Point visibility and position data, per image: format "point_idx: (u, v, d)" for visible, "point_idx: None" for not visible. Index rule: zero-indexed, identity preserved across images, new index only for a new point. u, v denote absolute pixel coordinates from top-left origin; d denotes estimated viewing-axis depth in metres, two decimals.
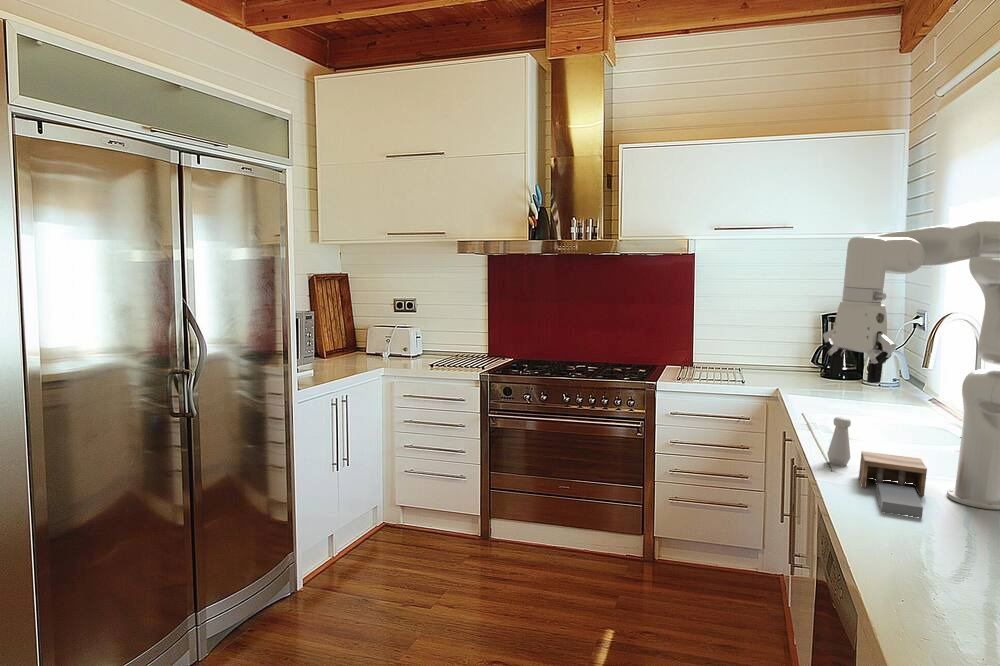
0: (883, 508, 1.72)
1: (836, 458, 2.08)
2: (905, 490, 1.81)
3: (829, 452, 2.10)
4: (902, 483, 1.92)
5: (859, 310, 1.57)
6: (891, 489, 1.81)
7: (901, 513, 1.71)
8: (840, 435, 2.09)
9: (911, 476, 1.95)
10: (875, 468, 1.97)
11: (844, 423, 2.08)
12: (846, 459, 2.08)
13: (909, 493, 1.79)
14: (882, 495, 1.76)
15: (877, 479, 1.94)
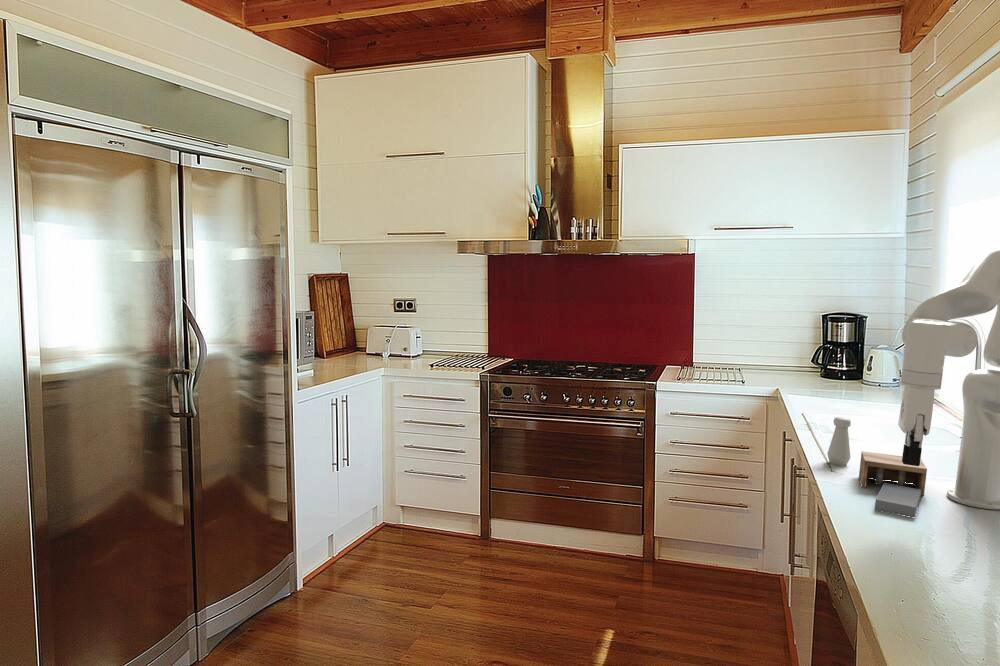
0: (876, 506, 1.73)
1: (836, 458, 2.08)
2: (909, 491, 1.80)
3: (829, 452, 2.10)
4: (902, 483, 1.92)
5: None
6: (894, 489, 1.81)
7: (894, 512, 1.71)
8: (840, 435, 2.09)
9: (911, 476, 1.95)
10: (875, 468, 1.97)
11: (844, 423, 2.08)
12: (846, 459, 2.08)
13: (911, 494, 1.78)
14: (879, 494, 1.77)
15: (877, 479, 1.94)
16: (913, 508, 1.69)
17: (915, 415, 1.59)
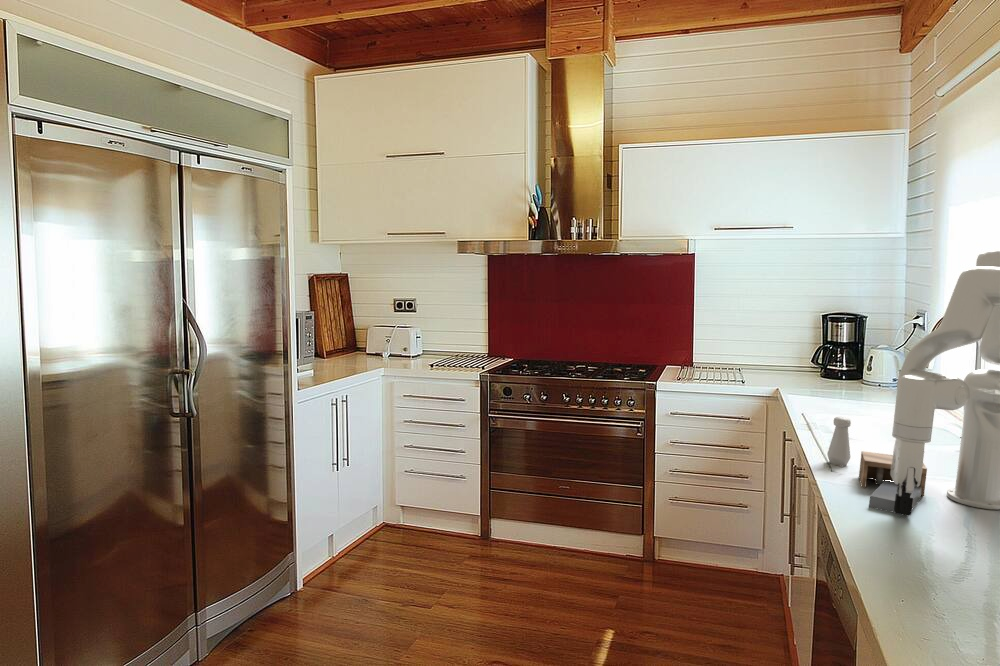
0: (870, 502, 1.75)
1: (836, 458, 2.08)
2: None
3: (829, 452, 2.10)
4: None
5: None
6: (893, 487, 1.83)
7: (888, 508, 1.73)
8: (840, 435, 2.09)
9: None
10: (875, 468, 1.97)
11: (844, 423, 2.08)
12: (846, 459, 2.08)
13: None
14: (876, 491, 1.79)
15: (877, 479, 1.94)
16: None
17: (906, 468, 1.64)
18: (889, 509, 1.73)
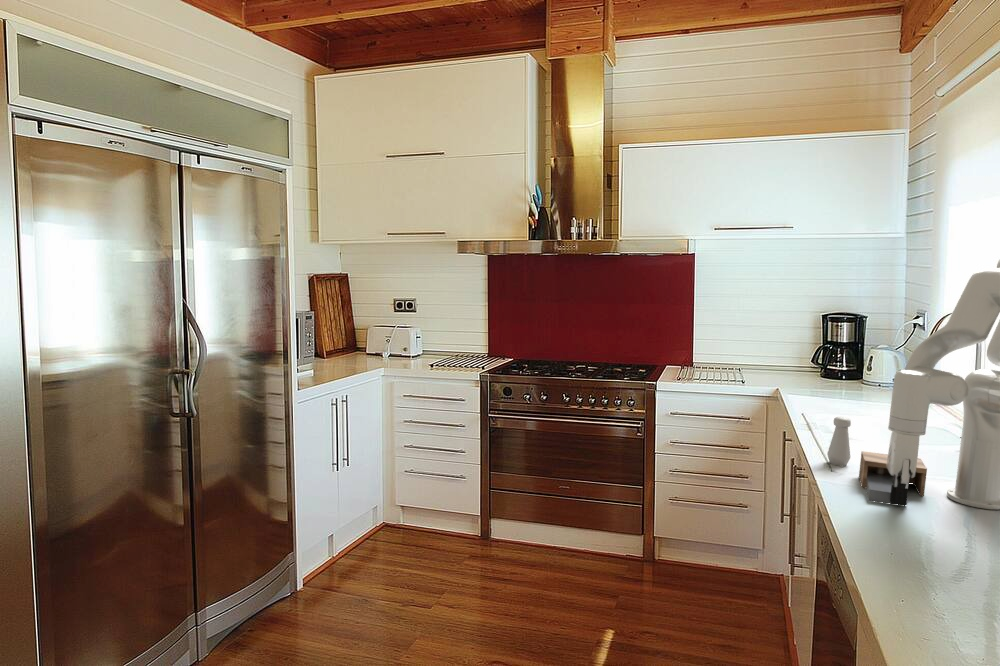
0: (870, 495, 1.80)
1: (836, 458, 2.08)
2: (892, 479, 1.89)
3: (829, 452, 2.10)
4: None
5: None
6: (878, 478, 1.89)
7: (887, 500, 1.79)
8: (840, 435, 2.09)
9: None
10: (875, 468, 1.97)
11: (844, 423, 2.08)
12: (846, 459, 2.08)
13: None
14: (869, 483, 1.84)
15: None
16: None
17: (902, 459, 1.70)
18: (888, 501, 1.79)
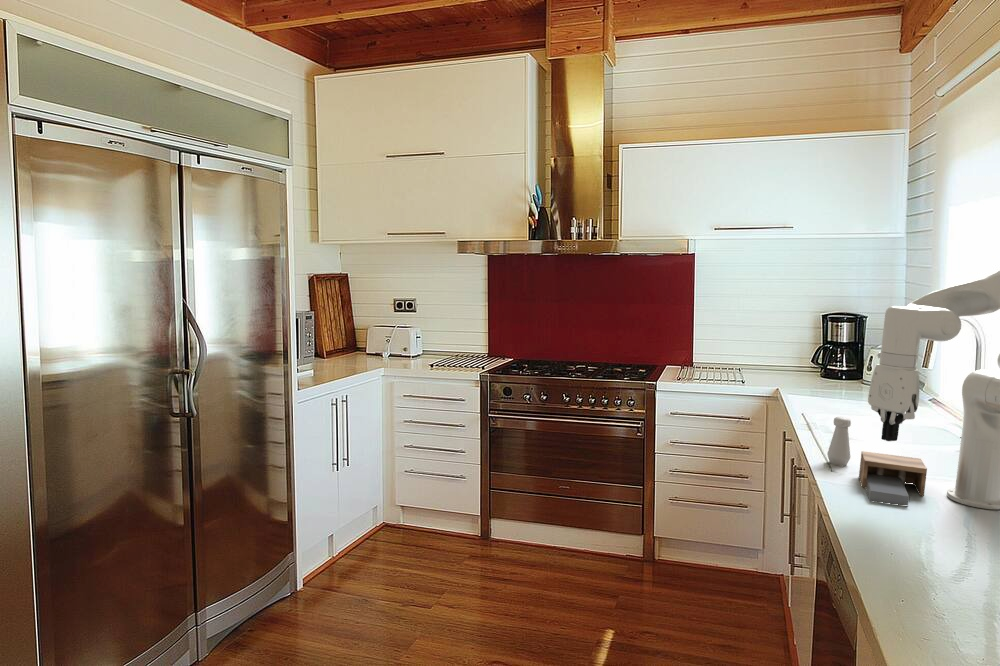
0: (871, 497, 1.80)
1: (836, 458, 2.08)
2: (892, 480, 1.89)
3: (829, 452, 2.10)
4: None
5: None
6: (878, 479, 1.89)
7: (888, 501, 1.79)
8: (840, 435, 2.09)
9: (911, 476, 1.95)
10: (875, 468, 1.97)
11: (844, 423, 2.08)
12: (846, 459, 2.08)
13: (895, 483, 1.87)
14: (870, 484, 1.84)
15: None
16: (906, 497, 1.77)
17: (911, 395, 1.70)
18: (889, 502, 1.78)
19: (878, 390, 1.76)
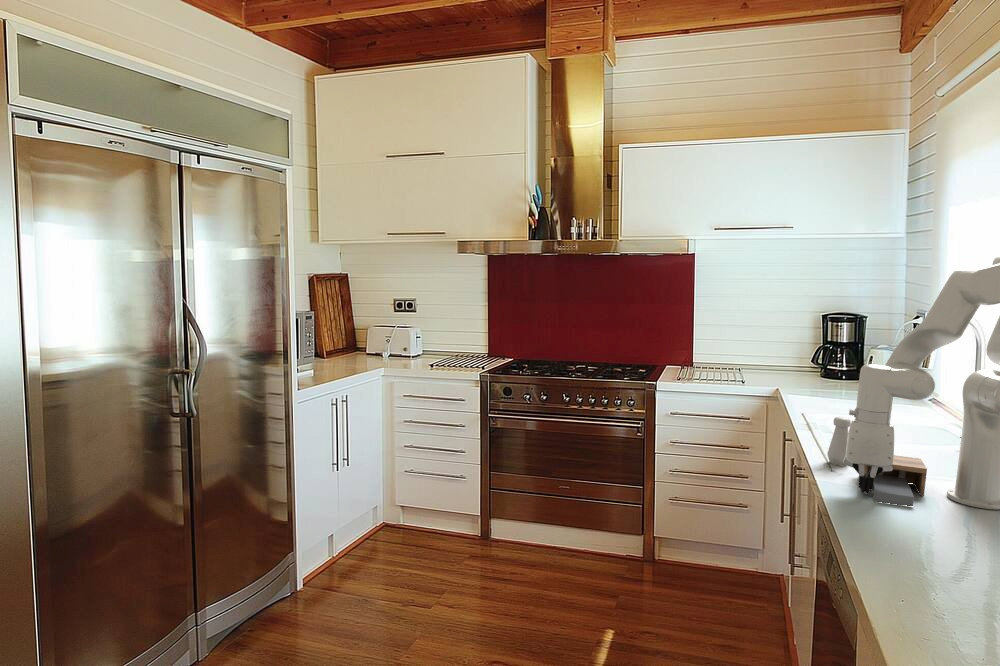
0: (876, 497, 1.79)
1: (836, 458, 2.08)
2: (897, 481, 1.89)
3: (829, 452, 2.10)
4: None
5: None
6: (884, 480, 1.89)
7: (893, 502, 1.78)
8: (840, 435, 2.09)
9: (911, 476, 1.95)
10: None
11: (844, 423, 2.08)
12: None
13: (901, 483, 1.86)
14: (875, 485, 1.84)
15: None
16: (911, 498, 1.77)
17: None
18: (894, 503, 1.78)
19: (861, 447, 1.81)
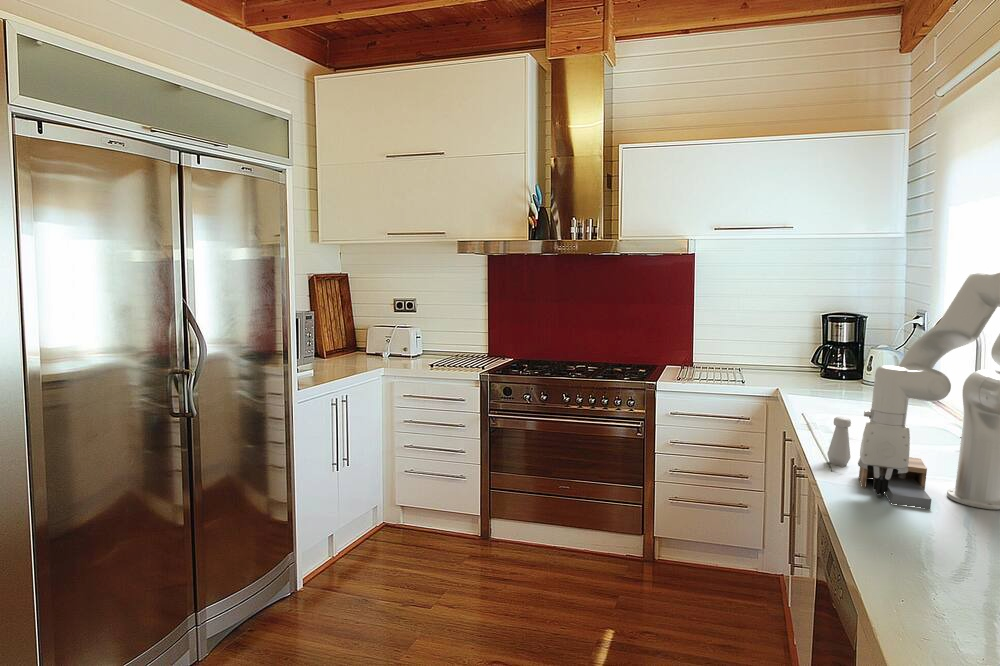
0: (893, 501, 1.78)
1: (836, 458, 2.08)
2: (909, 483, 1.88)
3: (829, 452, 2.10)
4: None
5: None
6: (896, 482, 1.88)
7: (910, 505, 1.77)
8: (840, 435, 2.09)
9: (911, 476, 1.95)
10: None
11: (844, 423, 2.08)
12: (846, 459, 2.08)
13: (914, 485, 1.86)
14: (890, 488, 1.82)
15: None
16: (929, 500, 1.76)
17: None
18: None
19: (876, 449, 1.80)
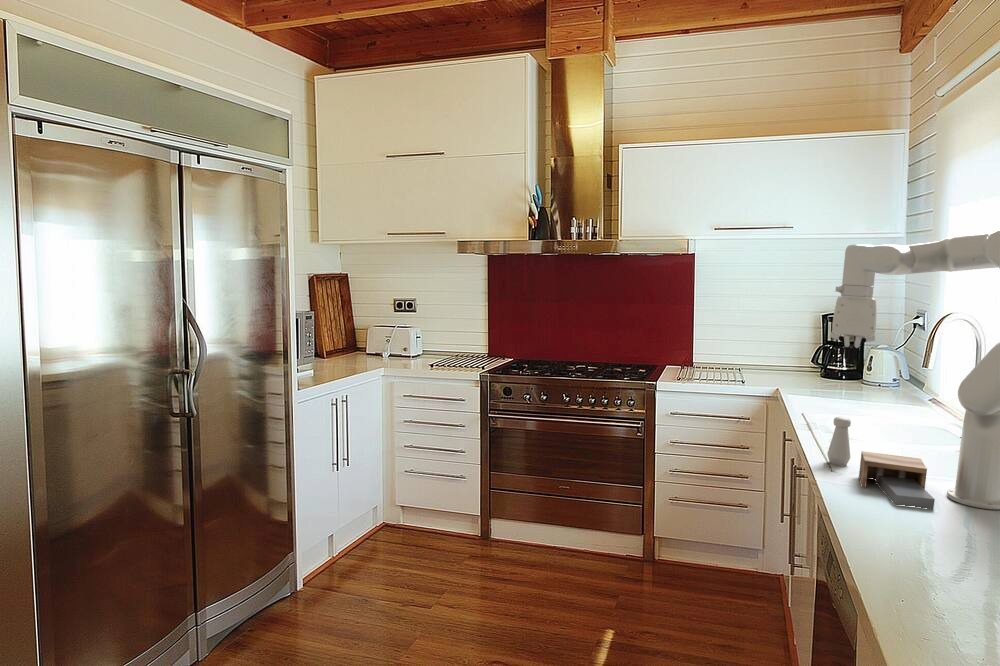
0: (897, 501, 1.77)
1: (836, 458, 2.08)
2: (908, 482, 1.88)
3: (829, 452, 2.10)
4: None
5: None
6: (895, 482, 1.88)
7: (914, 505, 1.77)
8: (840, 435, 2.09)
9: (911, 476, 1.95)
10: (875, 468, 1.97)
11: (844, 423, 2.08)
12: (846, 459, 2.08)
13: (913, 485, 1.86)
14: (892, 488, 1.82)
15: (877, 479, 1.94)
16: (932, 500, 1.76)
17: None
18: (915, 506, 1.77)
19: (846, 319, 1.99)
